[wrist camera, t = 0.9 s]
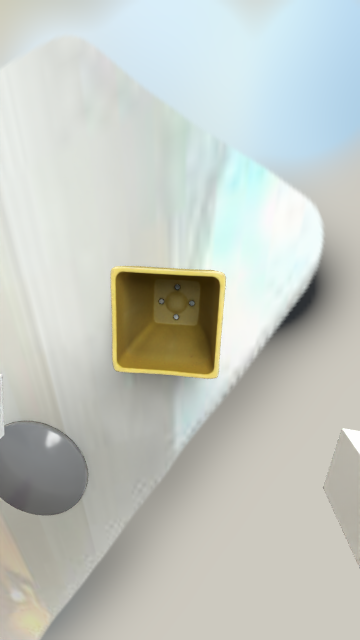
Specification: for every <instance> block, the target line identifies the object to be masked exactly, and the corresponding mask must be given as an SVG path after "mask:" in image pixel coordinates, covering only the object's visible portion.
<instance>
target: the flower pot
mask: <svg viewBox="0 0 360 640" xmlns="http://www.w3.org/2000/svg"><path fill="white" fill-rule="evenodd" d="M177 284H178V285H179V286H180V289H178V290H176V289H175V285H177ZM225 286H226V277H225V274H224V273H222V272H219V271H214V270H194V269H174V268H156V267H141V266H117V267H114V268H112V270H111V306H112V360H113V367H114V369H115V370H116V371H118V372H128V373H147V374H165V375H175V376H184V377H195V378H204V379H212V378H217V377H218V374H219V359H220V345H221V332H222V320H223V308H224V296H225ZM160 299H163V300H164V303H163V304H160V303H159V300H160ZM191 300H192V301H194V302H195V304H194V305H193V306H191V305H190V304H189V302H190V301H191ZM175 314H177V315H178V316H179V318H178V319H174V315H175Z"/></svg>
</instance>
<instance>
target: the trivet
mask: <svg viewBox="0 0 360 640" xmlns="http://www.w3.org/2000/svg"><path fill="white" fill-rule="evenodd" d="M87 481H88V469H87V465H86V461H85V459H84V456H83V455H82V453H81V451H80V450H79V448H78V447H77V445H76V444H75V443H74V442H73V441H72V440H71V439H70V438H69V437H68V436H66V435H65V434H64V433H62V432H61V431H59V430H57V429H56V428H54V427H51V426H49V425H46V424H43V423H40V422H34V421H18V422H13V423H10V424H7V425H5V426H4V436H3V437H2V438H1V439H0V497H1V498H2V499H3V500H4V501H6V502H7V503H8V504H10V505H11V506H13V507H15V508H17V509H19V510H22V511H24V512H27V513H31V514H36V515H54V514H59V513H62V512H64V511H67V510H68V509H70V508H72V507H73V506H74V505H75V504H76V503H77V502H78V501H79V500H80V498H81V496H82V495H83V493H84V491H85V488H86V486H87Z"/></svg>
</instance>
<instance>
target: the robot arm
mask: <svg viewBox="0 0 360 640" xmlns="http://www.w3.org/2000/svg"><path fill="white" fill-rule="evenodd" d="M3 436H4V410H3V384H2V375H0V439H1V438H2V437H3ZM323 489H324V491H325V493H326V495H327V497H328V499H329V502H330V504H331V506H332V508H333V511H334V513H335V515H336V517H337V519H338V522H339V524H340V526H341V528H342V530H343V533H344V535H345V537H346V539H347V541H348V544H349V546H350V548H351V550H352V552H353V554H354V557H355V559H356V561H357V563H358V565H359V568H360V431H356V430H349V429H342V430H341V433H340V436H339V439H338V442H337V445H336V449H335V452H334V455H333V458H332V461H331V464H330V467H329V471H328V473H327V477H326V480H325V483H324V486H323Z"/></svg>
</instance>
